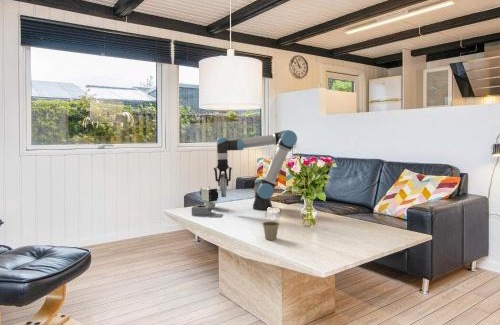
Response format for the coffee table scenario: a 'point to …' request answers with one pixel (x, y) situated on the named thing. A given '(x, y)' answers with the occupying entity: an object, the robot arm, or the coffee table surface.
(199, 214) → the chuck
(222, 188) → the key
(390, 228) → the coffee table surface
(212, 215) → the pad
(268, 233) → the flower pot
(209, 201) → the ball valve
